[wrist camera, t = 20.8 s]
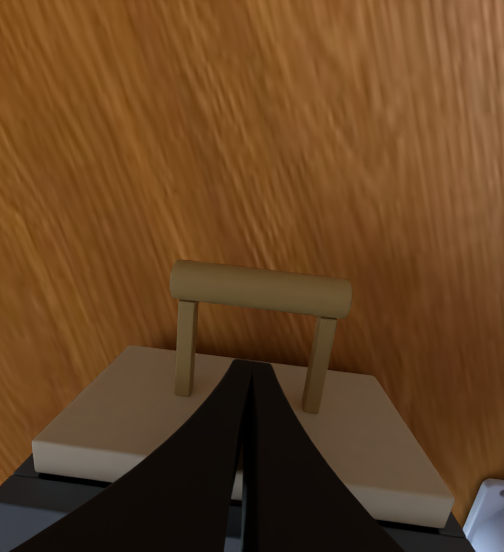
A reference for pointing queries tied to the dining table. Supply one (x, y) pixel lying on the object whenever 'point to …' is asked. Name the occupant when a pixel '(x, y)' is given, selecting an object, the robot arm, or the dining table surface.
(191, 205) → the dining table surface
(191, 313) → the drawer
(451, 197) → the dining table surface
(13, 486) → the cabinet
